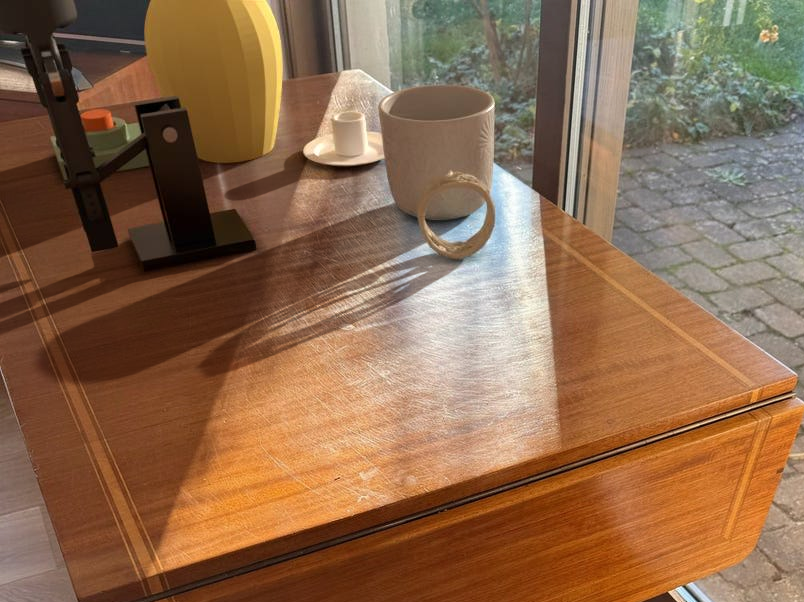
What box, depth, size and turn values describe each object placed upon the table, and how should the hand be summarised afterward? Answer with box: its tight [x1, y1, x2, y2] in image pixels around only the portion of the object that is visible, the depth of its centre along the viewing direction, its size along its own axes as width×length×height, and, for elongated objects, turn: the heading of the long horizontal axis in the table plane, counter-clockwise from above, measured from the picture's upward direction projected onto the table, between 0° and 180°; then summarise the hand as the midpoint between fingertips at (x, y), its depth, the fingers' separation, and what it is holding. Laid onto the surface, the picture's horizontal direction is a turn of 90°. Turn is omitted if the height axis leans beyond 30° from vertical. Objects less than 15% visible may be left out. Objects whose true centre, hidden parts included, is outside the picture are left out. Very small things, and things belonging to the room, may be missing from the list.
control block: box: [49, 116, 150, 181], centre depth 124 cm, size 12×10×4 cm
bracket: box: [126, 96, 258, 273], centre depth 102 cm, size 12×9×14 cm
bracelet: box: [416, 171, 496, 260], centre depth 100 cm, size 4×8×8 cm, turn 96°
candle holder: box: [302, 110, 385, 167], centre depth 123 cm, size 12×12×4 cm
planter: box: [377, 84, 496, 221], centre depth 108 cm, size 12×12×11 cm
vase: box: [143, 0, 284, 164], centre depth 117 cm, size 16×16×28 cm
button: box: [80, 108, 114, 132], centre depth 122 cm, size 4×4×2 cm
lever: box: [96, 104, 170, 184], centre depth 98 cm, size 12×5×2 cm, turn 114°
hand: (100, 237), depth 102 cm, fingers closed on lever, 5 cm apart
